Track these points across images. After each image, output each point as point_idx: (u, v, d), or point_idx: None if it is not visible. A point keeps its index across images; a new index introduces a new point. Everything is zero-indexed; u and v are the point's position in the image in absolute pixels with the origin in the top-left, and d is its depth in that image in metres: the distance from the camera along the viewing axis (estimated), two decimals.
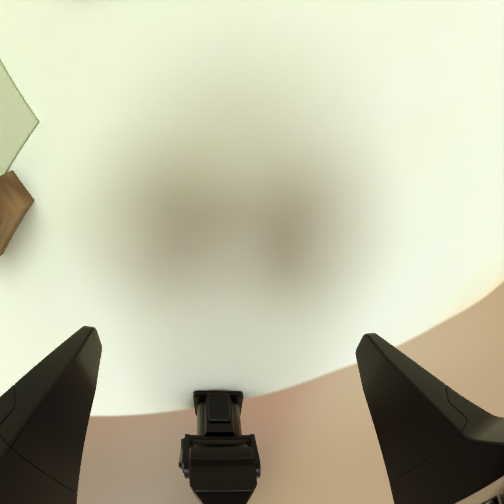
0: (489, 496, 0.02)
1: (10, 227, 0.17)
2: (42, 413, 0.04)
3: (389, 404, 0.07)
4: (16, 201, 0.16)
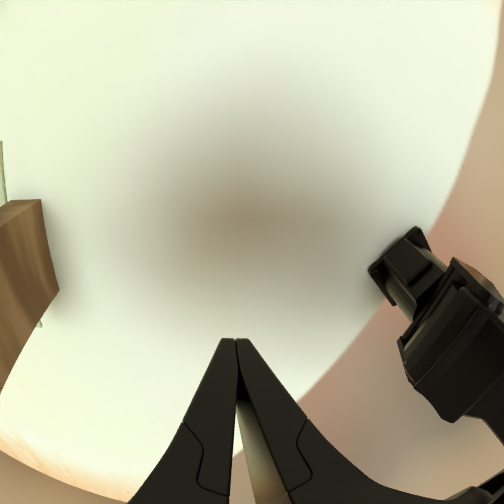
0: None
1: (32, 240, 0.17)
2: None
3: (245, 425, 0.06)
4: (19, 208, 0.15)
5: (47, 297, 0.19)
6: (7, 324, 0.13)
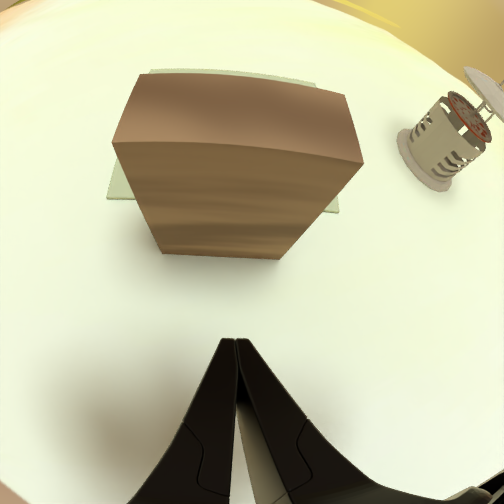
0: None
1: (248, 249, 0.19)
2: None
3: (245, 425, 0.06)
4: None
5: (168, 244, 0.18)
6: (194, 205, 0.13)
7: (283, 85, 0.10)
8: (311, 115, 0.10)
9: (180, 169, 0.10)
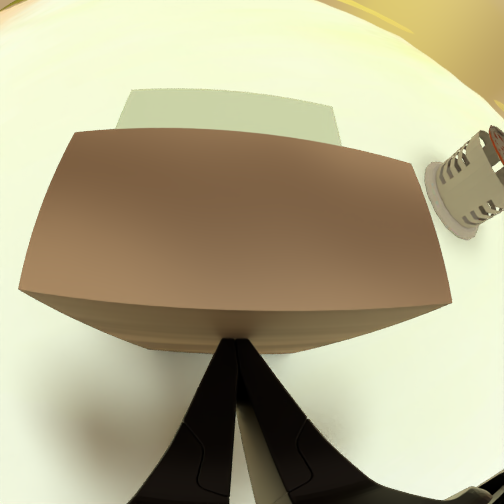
0: None
1: None
2: None
3: (245, 425, 0.06)
4: None
5: (153, 347, 0.14)
6: (179, 338, 0.08)
7: (322, 150, 0.06)
8: (375, 216, 0.06)
9: (146, 321, 0.06)
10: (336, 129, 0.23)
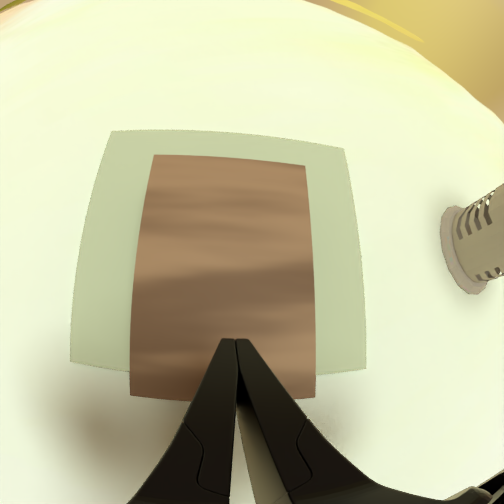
0: None
1: None
2: None
3: (245, 425, 0.06)
4: None
5: (144, 353, 0.12)
6: (192, 231, 0.14)
7: None
8: None
9: (190, 179, 0.15)
10: (348, 180, 0.21)
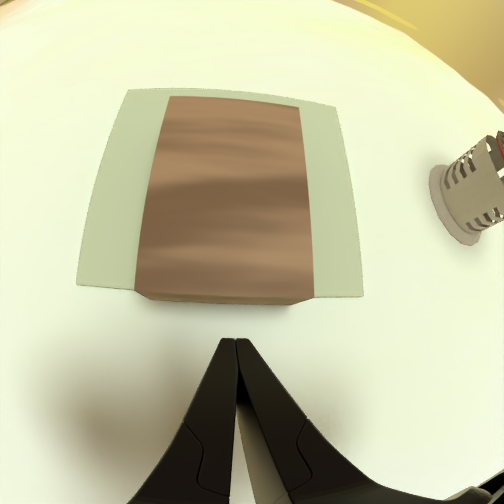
0: None
1: (261, 254, 0.14)
2: None
3: (245, 425, 0.06)
4: None
5: (152, 247, 0.13)
6: (202, 149, 0.15)
7: None
8: None
9: (200, 112, 0.16)
10: (339, 131, 0.23)
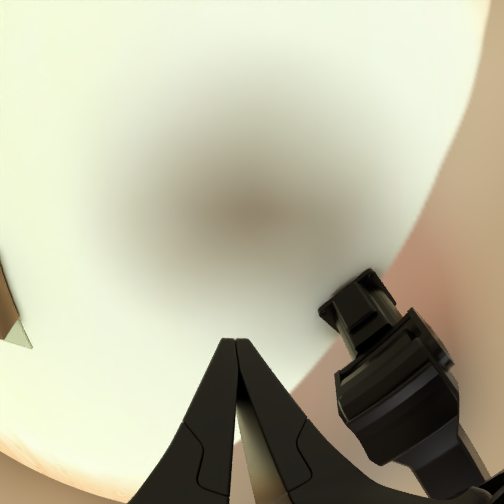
0: None
1: None
2: None
3: (245, 425, 0.06)
4: None
5: None
6: None
7: None
8: None
9: None
10: None
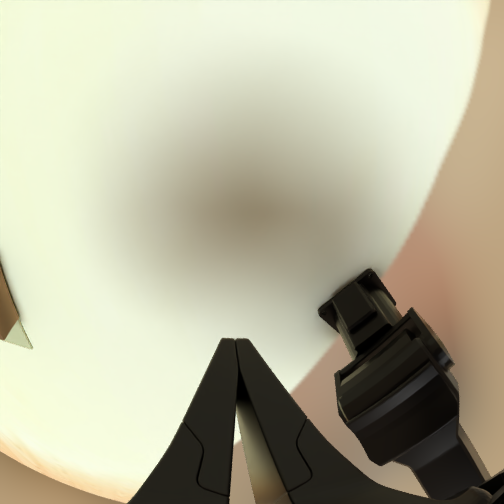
0: None
1: None
2: None
3: (245, 425, 0.06)
4: None
5: None
6: None
7: None
8: None
9: None
10: None
